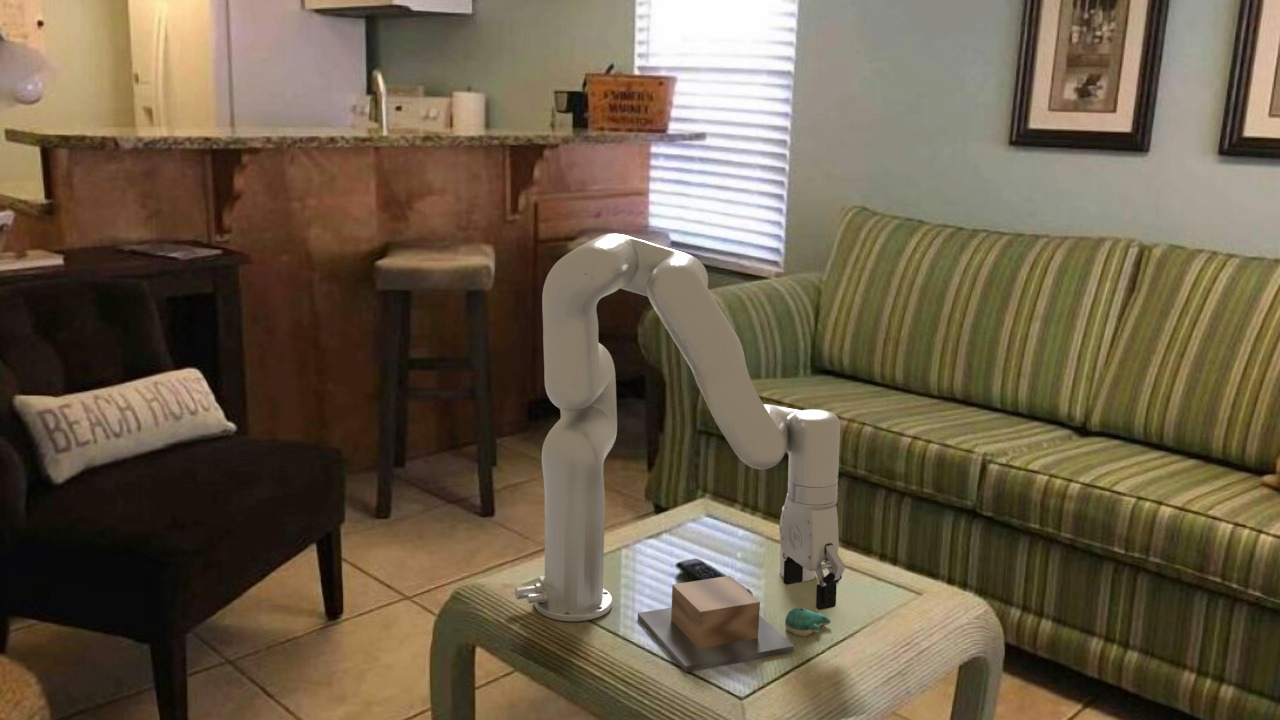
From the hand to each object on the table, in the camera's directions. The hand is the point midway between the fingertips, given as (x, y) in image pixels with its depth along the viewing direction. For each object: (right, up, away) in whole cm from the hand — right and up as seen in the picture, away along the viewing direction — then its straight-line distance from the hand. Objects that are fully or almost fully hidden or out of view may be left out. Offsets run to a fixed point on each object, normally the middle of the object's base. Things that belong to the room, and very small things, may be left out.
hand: (808, 595), depth 173 cm
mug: (+1, -1, +23) cm, 23 cm away
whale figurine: (0, -6, +2) cm, 6 cm away
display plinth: (-15, -6, -1) cm, 16 cm away
